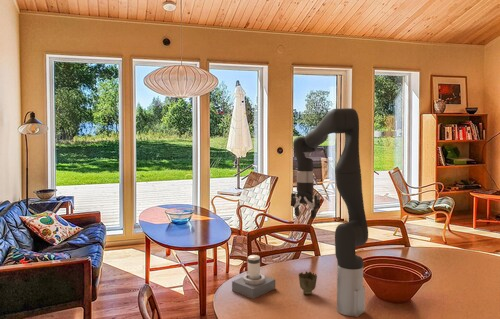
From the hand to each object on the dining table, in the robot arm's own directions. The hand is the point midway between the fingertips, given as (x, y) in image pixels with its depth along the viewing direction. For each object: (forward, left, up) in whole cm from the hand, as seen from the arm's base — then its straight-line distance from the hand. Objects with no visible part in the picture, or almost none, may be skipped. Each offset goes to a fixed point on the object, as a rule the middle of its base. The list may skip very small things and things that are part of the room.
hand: (305, 217), depth 169 cm
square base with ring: (+9, +25, -28) cm, 38 cm away
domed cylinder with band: (+9, +25, -24) cm, 36 cm away
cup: (-10, +13, -28) cm, 33 cm away
